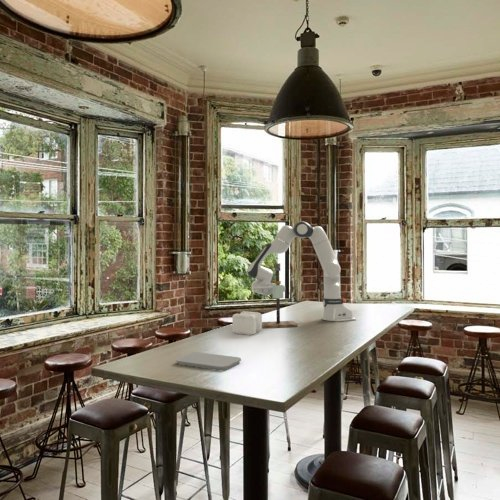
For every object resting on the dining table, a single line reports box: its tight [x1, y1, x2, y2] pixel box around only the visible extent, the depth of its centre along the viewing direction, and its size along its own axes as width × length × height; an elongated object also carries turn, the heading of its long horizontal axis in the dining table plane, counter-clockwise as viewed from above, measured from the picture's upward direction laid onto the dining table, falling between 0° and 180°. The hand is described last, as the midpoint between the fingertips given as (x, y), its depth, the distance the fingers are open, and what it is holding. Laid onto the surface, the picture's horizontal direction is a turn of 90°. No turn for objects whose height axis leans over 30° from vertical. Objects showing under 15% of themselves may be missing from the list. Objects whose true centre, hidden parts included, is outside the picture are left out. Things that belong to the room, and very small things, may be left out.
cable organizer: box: [231, 310, 263, 336], centre depth 262 cm, size 15×11×12 cm
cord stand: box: [262, 263, 299, 329], centre depth 282 cm, size 22×13×39 cm, turn 99°
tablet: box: [175, 352, 242, 371], centre depth 198 cm, size 16×26×2 cm, turn 62°
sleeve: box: [272, 284, 284, 299], centre depth 282 cm, size 5×5×8 cm
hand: (275, 290), depth 285 cm, fingers open, 8 cm apart
